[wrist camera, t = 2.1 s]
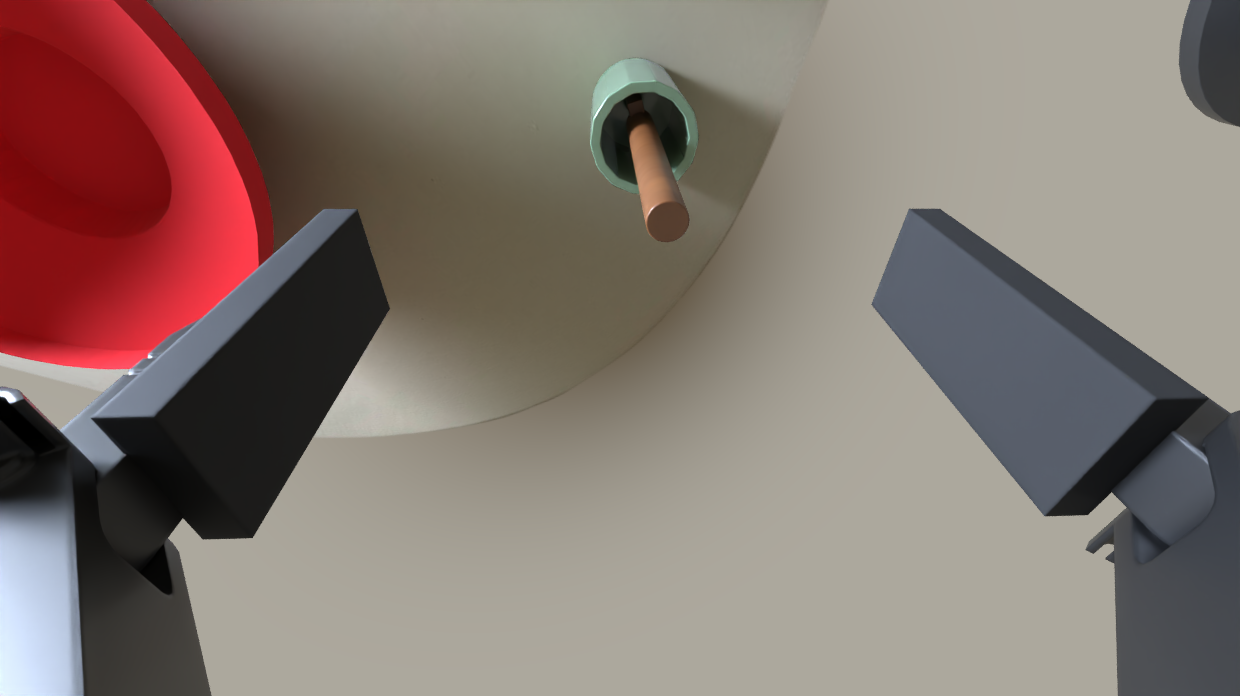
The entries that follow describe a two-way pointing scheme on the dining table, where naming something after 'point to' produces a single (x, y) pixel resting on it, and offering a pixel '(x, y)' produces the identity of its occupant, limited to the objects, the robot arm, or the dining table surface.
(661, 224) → the stick
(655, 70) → the crock
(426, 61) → the dining table surface
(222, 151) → the bowl
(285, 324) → the robot arm
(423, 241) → the dining table surface
